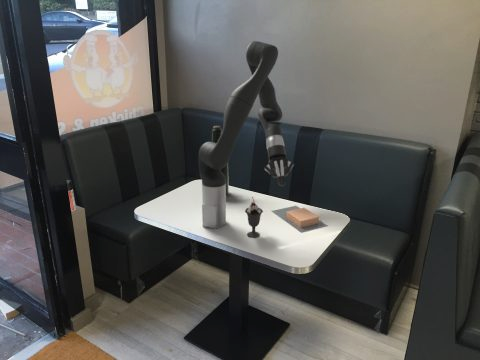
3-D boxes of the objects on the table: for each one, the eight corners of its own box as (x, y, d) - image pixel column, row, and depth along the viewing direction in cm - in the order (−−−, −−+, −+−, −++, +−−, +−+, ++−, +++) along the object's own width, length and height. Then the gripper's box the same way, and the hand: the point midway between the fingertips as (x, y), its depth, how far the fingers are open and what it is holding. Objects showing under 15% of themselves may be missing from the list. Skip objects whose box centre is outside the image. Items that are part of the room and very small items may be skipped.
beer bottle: (203, 192, 191) (201, 125, 180) (222, 188, 196) (222, 122, 184) (211, 200, 182) (210, 129, 171) (232, 196, 187) (232, 127, 175)
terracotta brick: (286, 211, 163) (300, 221, 154) (304, 207, 167) (319, 216, 158) (285, 217, 164) (300, 227, 155) (303, 213, 168) (318, 223, 159)
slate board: (327, 227, 158) (328, 225, 157) (301, 234, 152) (301, 232, 152) (296, 207, 176) (296, 205, 176) (271, 212, 170) (271, 211, 170)
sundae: (251, 229, 156) (252, 193, 151) (265, 234, 152) (266, 198, 147) (241, 235, 151) (241, 199, 146) (255, 240, 147) (256, 203, 142)
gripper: (291, 149, 173) (298, 186, 167) (261, 153, 173) (266, 191, 167) (291, 141, 166) (298, 180, 160) (260, 146, 166) (266, 185, 160)
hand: (282, 185), depth 164 cm, fingers closed
